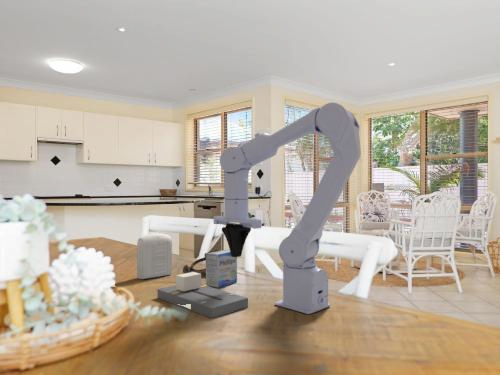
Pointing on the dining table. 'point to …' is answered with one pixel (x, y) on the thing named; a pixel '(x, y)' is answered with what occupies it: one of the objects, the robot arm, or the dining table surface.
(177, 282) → the fader
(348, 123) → the robot arm
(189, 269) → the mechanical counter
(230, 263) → the medicine box
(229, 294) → the board
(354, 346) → the dining table surface
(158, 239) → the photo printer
